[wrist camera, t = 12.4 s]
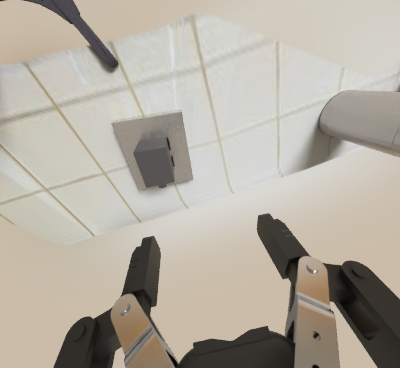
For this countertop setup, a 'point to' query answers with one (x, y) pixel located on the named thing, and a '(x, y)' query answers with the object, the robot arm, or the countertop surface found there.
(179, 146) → the socket plate
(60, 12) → the bracket
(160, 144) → the plug
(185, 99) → the countertop surface
